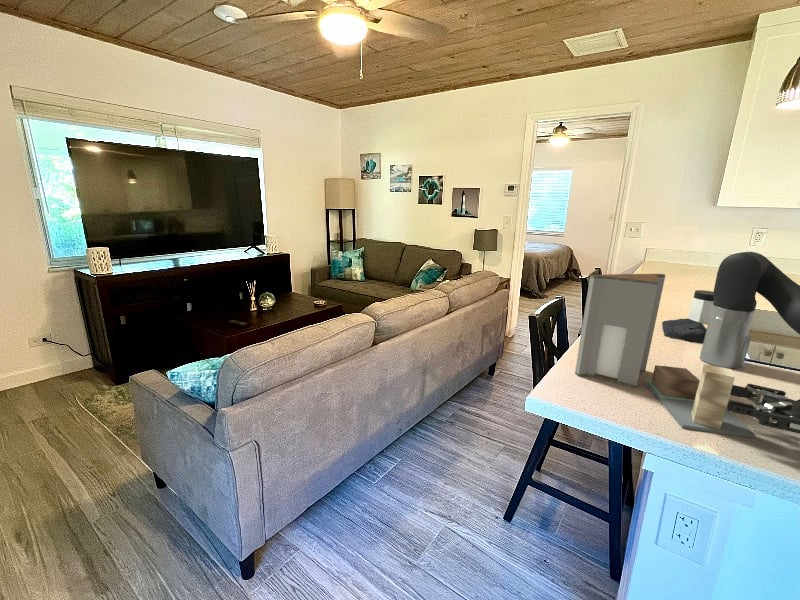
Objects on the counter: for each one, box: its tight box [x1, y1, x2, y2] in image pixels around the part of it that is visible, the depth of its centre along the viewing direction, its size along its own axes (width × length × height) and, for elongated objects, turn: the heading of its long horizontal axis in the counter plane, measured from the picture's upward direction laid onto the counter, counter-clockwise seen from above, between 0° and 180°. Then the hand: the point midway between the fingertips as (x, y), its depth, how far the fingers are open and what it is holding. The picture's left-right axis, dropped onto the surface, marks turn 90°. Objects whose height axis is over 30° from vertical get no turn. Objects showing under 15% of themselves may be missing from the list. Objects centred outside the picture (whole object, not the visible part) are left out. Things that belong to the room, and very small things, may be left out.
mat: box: [645, 380, 756, 439], centre depth 87 cm, size 13×20×1 cm, turn 167°
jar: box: [687, 289, 714, 325], centre depth 150 cm, size 9×8×12 cm
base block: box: [650, 364, 700, 400], centre depth 92 cm, size 7×7×5 cm
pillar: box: [692, 363, 736, 429], centre depth 79 cm, size 4×4×12 cm
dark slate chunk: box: [661, 318, 707, 345], centre depth 137 cm, size 15×22×5 cm
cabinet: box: [574, 273, 666, 389], centre depth 97 cm, size 21×10×28 cm, turn 100°
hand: (724, 395), depth 78 cm, fingers open, 8 cm apart
